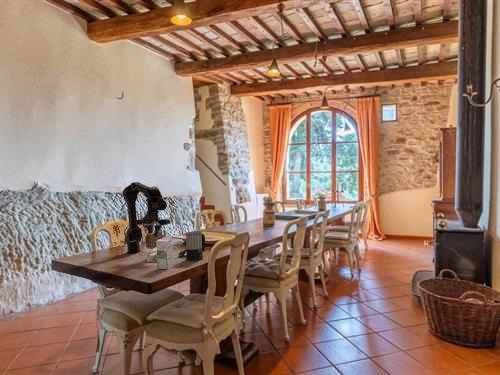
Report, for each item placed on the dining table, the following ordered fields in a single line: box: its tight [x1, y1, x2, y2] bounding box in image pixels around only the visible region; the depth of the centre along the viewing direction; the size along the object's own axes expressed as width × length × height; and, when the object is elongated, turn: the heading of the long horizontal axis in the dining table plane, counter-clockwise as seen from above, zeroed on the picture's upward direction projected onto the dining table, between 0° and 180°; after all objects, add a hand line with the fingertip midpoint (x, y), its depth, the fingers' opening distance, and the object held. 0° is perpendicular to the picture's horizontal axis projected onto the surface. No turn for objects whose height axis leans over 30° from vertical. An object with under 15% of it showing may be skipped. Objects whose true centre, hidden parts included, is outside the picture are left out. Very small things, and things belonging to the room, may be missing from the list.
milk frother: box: [178, 230, 206, 262], centre depth 196 cm, size 14×16×15 cm
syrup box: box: [156, 238, 173, 270], centre depth 175 cm, size 6×6×14 cm
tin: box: [145, 230, 163, 250], centre depth 198 cm, size 15×3×8 cm, turn 166°
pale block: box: [146, 247, 157, 263], centre depth 200 cm, size 10×20×4 cm, turn 4°
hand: (153, 237), depth 198 cm, fingers closed on tin, 3 cm apart
